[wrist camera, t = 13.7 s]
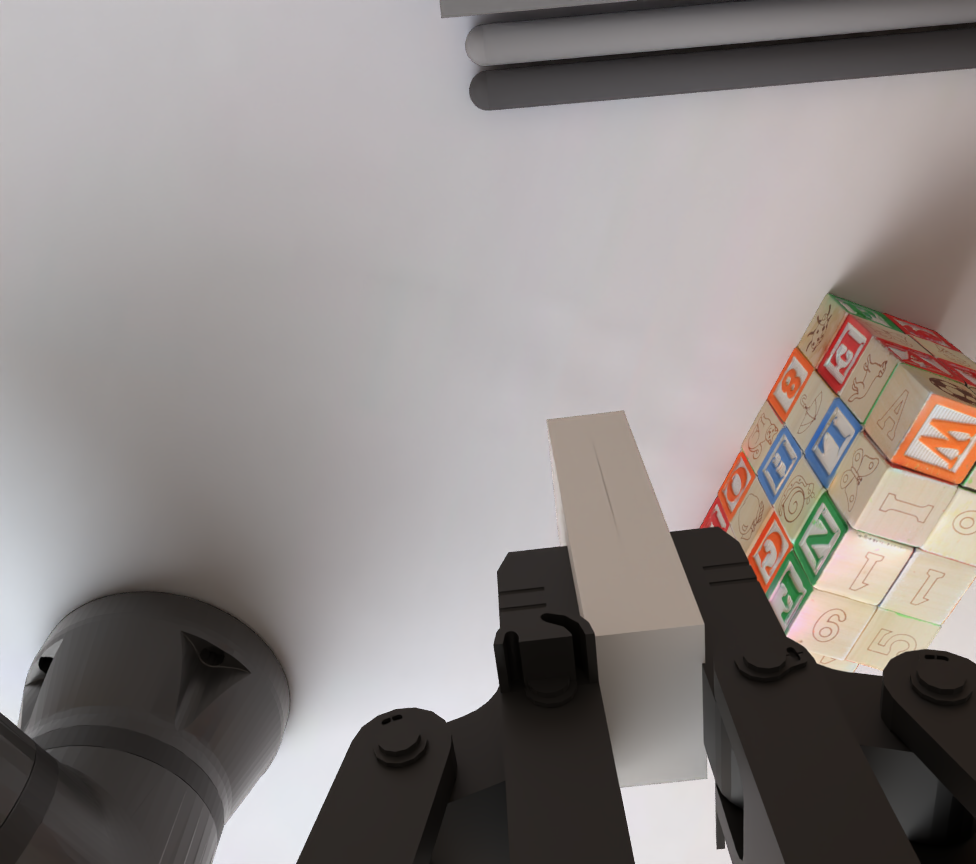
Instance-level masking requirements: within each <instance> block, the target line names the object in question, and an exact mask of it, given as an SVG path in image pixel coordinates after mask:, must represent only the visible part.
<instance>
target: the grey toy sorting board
mask: <svg viewBox="0 0 976 864" xmlns="http://www.w3.org/2000/svg"><path fill="white" fill-rule="evenodd" d="M624 1H635V0H440V8H441V18H449V17H460V16H471V15H482V14H493V13H504V12H515V11H526V10H537V9H547V8H558V7H569V6H580V5H591V4H602V3H613V2H624Z"/></svg>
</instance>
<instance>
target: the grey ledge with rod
mask: <svg viewBox="0 0 976 864" xmlns="http://www.w3.org/2000/svg"><path fill="white" fill-rule="evenodd" d="M972 22H976V0H747V1H736V2H725V3H714V4H703V5H692V6H681V7H670V8H659V9H648V10H637V11H626V12H615V13H604V14H593V15H582V16H572V17H561V18H550V19H539V20H528V21H517V22H506V23H495V24H484V25H479V26H476V27H475V28H473V29H472V30H471V31H470V32H469V34H468V35H467V38H466V42H465V48H466V52H467V55H468V57H469V58H470V59H471V60H472V61H473V62H474V63H476V64H478V65H481V66H490V65H501V64H512V63H523V62H535V61H546V60H557V59H568V58H580V57H591V56H602V55H613V54H624V53H636V52H647V51H658V50H669V49H680V48H692V47H703V46H714V45H725V44H736V43H748V42H759V41H770V40H781V39H793V38H804V37H815V36H826V35H837V34H849V33H860V32H871V31H882V30H893V29H905V28H916V27H927V26H938V25H950V24H961V23H972ZM972 68H976V27H973V28H962V29H950V30H939V31H928V32H917V33H905V34H894V35H883V36H872V37H860V38H849V39H838V40H827V41H815V42H804V43H793V44H782V45H770V46H759V47H748V48H737V49H725V50H714V51H703V52H692V53H681V54H669V55H658V56H647V57H636V58H624V59H613V60H602V61H591V62H579V63H568V64H557V65H546V66H534V67H523V68H512V69H501V70H489V71H483V72H480V73H479V74H477V75H476V76H475V77H474V78H473V79H472V81H471V84H470V87H469V94H470V98H471V100H472V102H473V103H474V104H475V106H477V107H478V108H480V109H482V110H501V109H512V108H524V107H535V106H547V105H558V104H570V103H581V102H593V101H604V100H616V99H627V98H639V97H650V96H662V95H673V94H685V93H696V92H707V91H719V90H730V89H742V88H753V87H765V86H776V85H788V84H799V83H811V82H822V81H834V80H845V79H857V78H868V77H880V76H891V75H903V74H914V73H926V72H937V71H949V70H960V69H972Z"/></svg>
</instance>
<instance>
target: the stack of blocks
mask: <svg viewBox="0 0 976 864" xmlns="http://www.w3.org/2000/svg"><path fill="white" fill-rule="evenodd" d="M717 526H718V527H720V528H721V529H723V530H724V531H725V532H727V533H728V534H729V535H731V536H732V537H733V538H735V539H736V540H737V541H739V542H740V544H741V546H742V548H743V550H744V552H745V554H746V556H747V558H748V560H749V565H751V566H752V568H753V570H754V572H755V574H756V576H757V581H759V582H760V584H761V586H762V588H763V590H764V592H765V594H766V596H767V598H768V600H769V602H770V604H771V607H772V609H773V611H774V613H775V615H776V617H777V619H778V621H779V623H780V625H781V627H782V629H783V631H784V633H785V635H786V637H788V638H790V639H792V640H794V641H795V642H797V643H799V644H801V645H802V646H804V647H805V648H806V649H807V650H808V652H809V653H810V654H811V655H812V656H813V657H814V659H815V661H816V663H817V664H820V665H823V666H826V667H829V668H831V669H835V670H841V671H846V672H852V673H853V672H854V671H855V670H856V668H857V667H858V665H859V664H862V665H865V666H868V667H871V668H875V669H878V670H882V671H883V670H884V668H885V667H886V665H887V664H888V662H889V661H890V659H892V658H894V657H896V656H898V655H900V654H902V653H903V652H906V651H914V650H921V649H927V647H928V646H929V645H930V643H931V642H932V640H933V639H934V638H935V636H936V635H937V633H938V632H939V630H940V629H941V624H943V622H944V621H945V620H946V619H947V617H948V616H949V615H950V614H951V612H952V611H953V609H954V608H955V606H956V605H957V604H958V602H959V601H960V599H961V598H962V596H963V594H964V593H965V592H966V591H967V589H968V588H969V587H970V585H971V584H972V582H973V581H974V579H975V578H976V363H975V362H973V361H972V360H971V359H969V358H968V357H966V356H965V355H963V353H962V352H961V351H960V350H959V349H957V348H956V347H955V346H953V344H951V343H949V342H948V341H947V340H946V339H945V338H943V337H942V336H941V335H940V334H938V333H937V332H935V331H933V330H930V329H927V328H924V327H922V326H919V325H916V324H913V323H911V322H908V321H905V320H902V319H899V318H897V317H894V316H891V315H888V314H886V313H880V312H877V311H874V310H872V309H869V308H866V307H864V306H861V305H858V304H856V303H853V302H850V301H847V300H845V299H842V298H839V297H836V296H834V295H832V294H826V296H825V297H824V299H823V301H822V303H821V305H820V306H819V308H818V310H817V312H816V314H815V315H814V317H813V319H812V321H811V323H810V324H809V326H808V328H807V330H806V332H805V333H804V335H803V337H802V339H801V341H800V342H799V344H798V346H797V347H796V348H795V349H794V350H793V352H792V354H791V356H790V357H789V359H788V361H787V363H786V365H785V367H784V368H783V370H782V372H781V374H780V376H779V378H778V379H777V381H776V383H775V385H774V387H773V388H772V390H771V392H770V394H769V396H768V399H767V400H766V402H765V403H764V405H763V407H762V408H761V410H760V412H759V413H758V415H757V417H756V419H755V421H754V423H753V425H752V426H751V428H750V430H749V432H748V434H747V436H746V438H745V439H744V441H743V443H742V446H741V452H740V453H739V455H738V456H737V458H736V461H735V462H734V464H733V466H732V468H731V470H730V471H729V473H728V475H727V477H726V479H725V481H724V483H723V484H722V486H721V488H720V490H719V492H718V497H717V498H716V499H715V501H714V503H713V505H712V507H711V508H710V510H709V512H708V514H707V516H706V517H705V519H704V522H703V524H702V525H701V527H700V528H709V527H717Z"/></svg>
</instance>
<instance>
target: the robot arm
mask: <svg viewBox="0 0 976 864" xmlns="http://www.w3.org/2000/svg"><path fill="white" fill-rule="evenodd" d="M547 429H548V439H549V448H550V458H551V468H552V478H553V488H554V497H555V507H556V517H557V527H558V537H559V543H560V547H552V548H543V549H534V550H525V551H517V552H508V554H507V556H506V557H505V559H504V561H503V562H502V564H501V566H500V568H499V569H498V571H497V579H498V594H499V596H498V598H499V616H500V629H499V630H498V631H497V633H496V637H495V641H494V652H495V658H496V665H497V672H498V679H499V685H500V686H499V688H498V690H497V692H496V693H495V694H494V695H493V697H492V698H491V699H490V700H489V701H488V702H487V703H486V704H484V705H483V706H482V707H480V708H479V709H477V710H476V711H474V712H471V713H469V714H467V715H465V716H463V717H460V718H458V719H455V720H452V721H450V722H447V723H446V721H445V720H444V719H442V718H441V717H439V716H438V715H437V714H435V713H434V712H432V711H428V710H424V709H419V708H404V709H395V710H392V711H390V712H387V713H384V714H381V715H379V716H377V717H375V718H374V719H373V720H371V721H370V722H368V723H367V724H366V725H364V726H363V727H362V728H361V729H360V731H359V732H358V734H357V735H356V736H355V738H354V739H353V741H352V742H351V745H350V747H349V749H348V751H347V753H346V756H345V758H344V760H343V762H342V764H341V767H340V769H339V771H338V773H337V775H336V778H335V780H334V782H333V784H332V786H331V788H330V791H329V793H328V795H327V797H326V799H325V802H324V804H323V806H322V808H321V810H320V813H319V815H318V817H317V819H316V821H315V824H314V826H313V828H312V830H311V832H310V835H309V837H308V839H307V841H306V843H305V845H304V848H303V850H302V852H301V854H300V856H299V859H298V861H297V863H296V864H635V862H634V857H633V852H632V847H631V841H630V836H629V831H628V826H627V821H626V816H625V811H624V806H623V801H622V796H621V791H620V788H622V787H632V786H641V785H651V784H661V783H670V782H680V781H689V780H699V779H707V756H708V759H709V762H710V765H711V768H712V771H713V775H714V778H715V799H716V844H717V849H725V841H726V844H727V847H728V851H729V854H730V857H731V860H732V864H976V664H975V663H974V662H972V661H971V660H969V659H967V658H964V657H961V656H958V655H955V654H952V653H949V652H947V651H938V650H929V649H921V650H914V651H906V652H903V653H902V654H900V655H898V656H896V657H894V658H892V659H890V661H889V662H888V664H887V665H886V667H885V668H884V670H883V676H877V675H868V674H860V673H852V672H846V671H841V670H835V669H831V668H829V667H826V666H823V665H820V664H817V663H816V661H815V659H814V657H813V656H812V655H811V654H810V653H809V652H808V650H807V649H806V648H805V647H804V646H802V645H801V644H799V643H797V642H795V641H794V640H792V639H790V638H788V637H786V635H785V633H784V631H783V629H782V627H781V625H780V623H779V621H778V619H777V617H776V615H775V613H774V611H773V609H772V607H771V604H770V602H769V600H768V598H767V596H766V594H765V592H764V590H763V588H762V586H761V584H760V582H759V581H757V576H756V574H755V572H754V570H753V568H752V566H751V565H749V560H748V558H747V556H746V554H745V552H744V550H743V548H742V546H741V544H740V542H739V541H737V540H736V539H735V538H733V537H732V536H731V535H729V534H728V533H727V532H725V531H724V530H723V529H721V528H720V527H718V526H717V527H709V528H700V529H691V530H682V531H674V532H669V529H668V526H667V524H666V521H665V519H664V516H663V513H662V511H661V508H660V505H659V503H658V500H657V497H656V495H655V492H654V490H653V487H652V484H651V482H650V479H649V476H648V474H647V471H646V468H645V466H644V463H643V460H642V458H641V455H640V453H639V450H638V447H637V445H636V442H635V439H634V437H633V434H632V431H631V429H630V426H629V424H628V421H627V418H626V416H625V413H624V411H616V412H607V413H599V414H590V415H582V416H573V417H565V418H557V419H548V420H547ZM289 708H290V696H289V688H288V684H287V680H286V677H285V675H284V672H283V670H282V668H281V666H280V664H279V662H278V660H277V659H276V657H275V655H274V654H273V653H272V651H271V650H270V649H269V647H268V646H267V645H266V644H265V643H264V642H263V641H262V640H261V638H260V637H259V636H257V635H256V634H255V633H254V632H253V631H252V630H251V629H249V628H248V627H247V626H246V625H244V624H243V623H241V622H240V621H239V620H237V619H235V618H234V617H232V616H231V615H229V614H227V613H225V612H223V611H221V610H219V609H217V608H215V607H213V606H211V605H208V604H205V603H203V602H200V601H197V600H194V599H190V598H187V597H183V596H178V595H173V594H166V593H156V592H131V593H122V594H116V595H111V596H107V597H104V598H100V599H97V600H95V601H92V602H90V603H87V604H85V605H83V606H81V607H80V608H78V609H76V610H74V611H73V612H72V613H70V614H69V615H68V616H66V617H65V618H64V619H63V620H62V621H61V622H60V623H59V624H58V625H57V626H56V627H55V629H54V630H53V631H52V632H51V634H50V635H49V637H48V638H47V640H46V641H45V643H44V644H43V646H42V647H41V649H40V650H39V652H38V654H37V655H36V657H35V658H34V660H33V662H32V664H31V667H30V669H29V672H28V674H27V678H26V682H25V687H24V692H23V698H22V703H21V709H20V714H19V720H18V725H17V726H16V725H15V724H14V723H12V722H11V721H10V720H9V719H8V718H6V717H5V716H4V715H3V714H2V713H0V864H212V862H213V859H214V856H215V852H216V849H217V846H218V843H219V840H220V836H221V834H222V831H223V828H224V825H225V824H226V822H227V821H228V820H229V819H230V817H231V816H232V815H233V813H234V812H235V811H236V809H237V808H238V807H239V806H240V804H241V803H242V802H243V800H244V799H245V798H246V796H247V795H248V794H249V792H250V791H251V789H252V788H253V787H254V785H255V784H256V782H257V781H258V780H259V778H260V777H261V776H262V775H263V774H264V773H265V772H266V771H267V769H268V768H269V766H270V765H271V763H272V762H273V760H274V758H275V756H276V754H277V752H278V749H279V747H280V744H281V741H282V737H283V734H284V730H285V727H286V723H287V720H288V715H289Z"/></svg>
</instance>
